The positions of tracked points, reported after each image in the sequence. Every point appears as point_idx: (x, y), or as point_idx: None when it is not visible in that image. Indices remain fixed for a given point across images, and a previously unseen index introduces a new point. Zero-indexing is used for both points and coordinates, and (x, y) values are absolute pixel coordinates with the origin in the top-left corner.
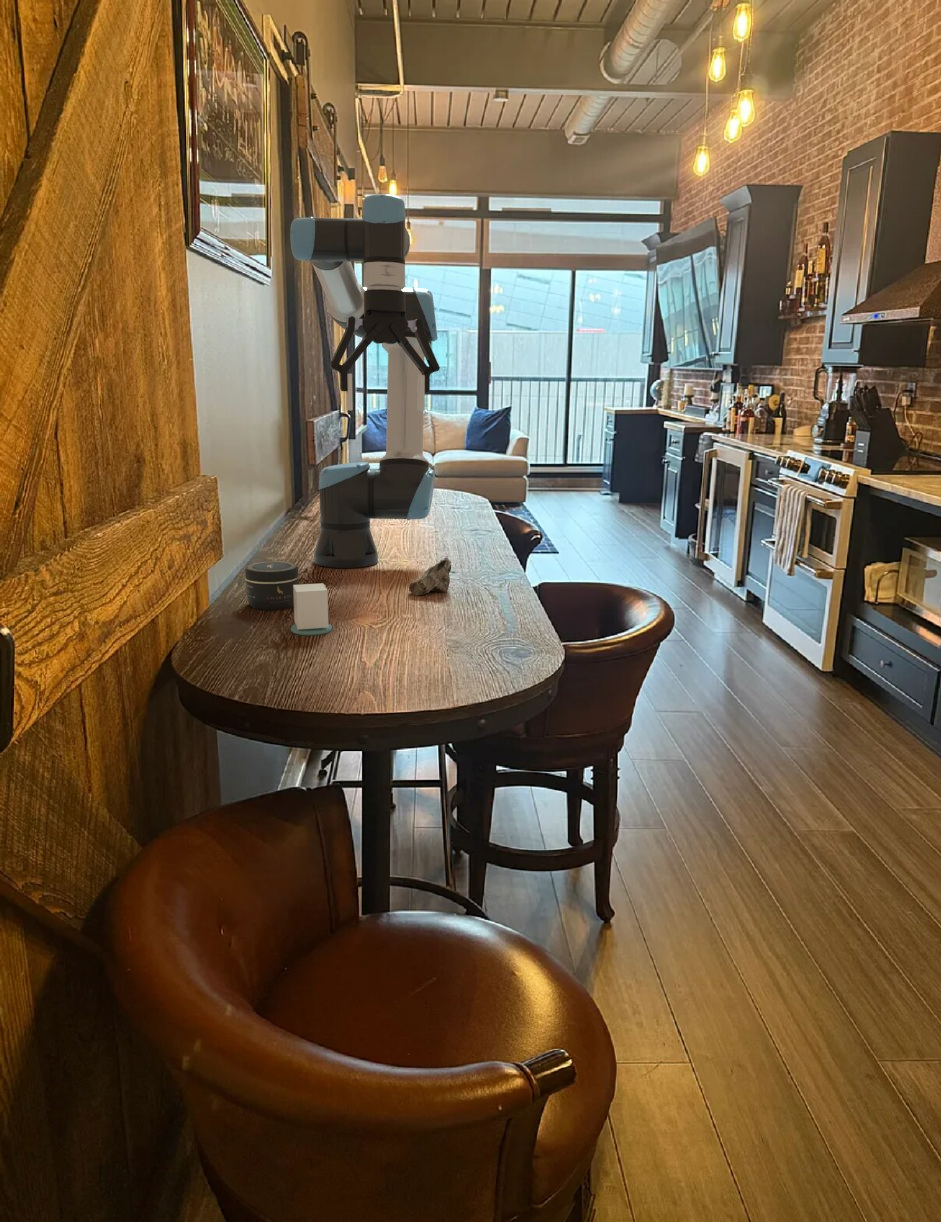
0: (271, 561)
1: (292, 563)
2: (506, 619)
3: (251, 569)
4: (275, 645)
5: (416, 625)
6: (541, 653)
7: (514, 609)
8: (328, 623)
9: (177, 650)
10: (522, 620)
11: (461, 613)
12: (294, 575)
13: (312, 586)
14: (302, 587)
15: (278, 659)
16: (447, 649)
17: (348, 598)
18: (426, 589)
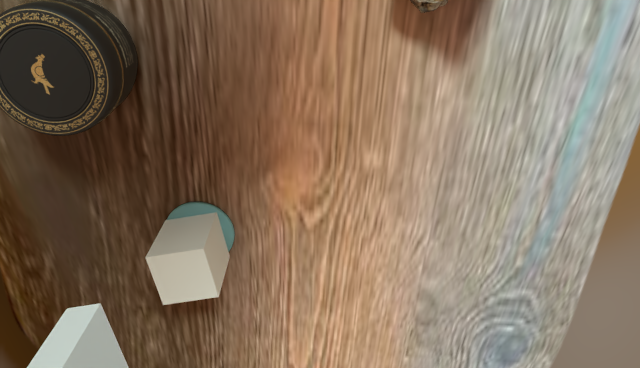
0: (24, 12)
1: (90, 43)
2: (553, 193)
3: (7, 110)
4: (158, 300)
5: (381, 218)
6: (539, 352)
7: (597, 126)
8: (226, 217)
9: (21, 312)
10: (580, 201)
11: (481, 148)
12: (116, 99)
13: (186, 270)
14: (168, 277)
15: (176, 352)
16: (411, 330)
17: (248, 7)
18: (439, 5)
